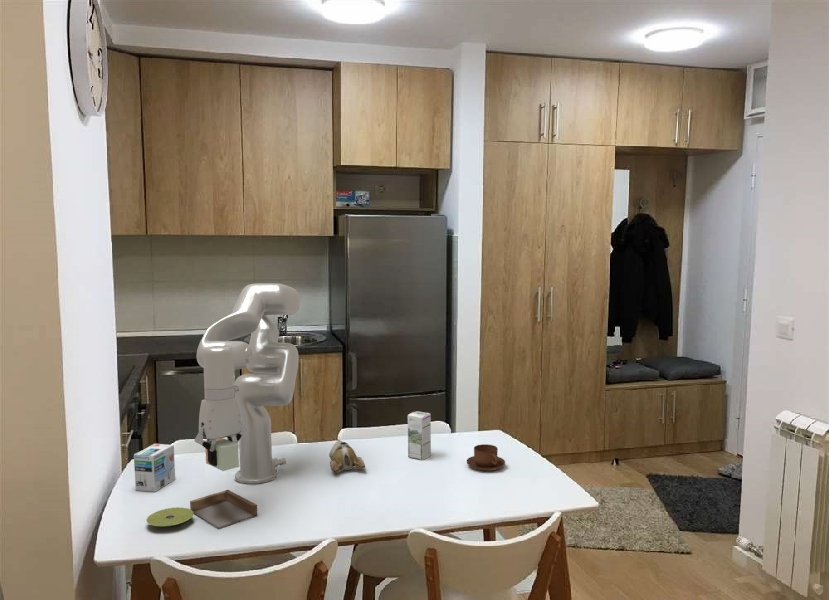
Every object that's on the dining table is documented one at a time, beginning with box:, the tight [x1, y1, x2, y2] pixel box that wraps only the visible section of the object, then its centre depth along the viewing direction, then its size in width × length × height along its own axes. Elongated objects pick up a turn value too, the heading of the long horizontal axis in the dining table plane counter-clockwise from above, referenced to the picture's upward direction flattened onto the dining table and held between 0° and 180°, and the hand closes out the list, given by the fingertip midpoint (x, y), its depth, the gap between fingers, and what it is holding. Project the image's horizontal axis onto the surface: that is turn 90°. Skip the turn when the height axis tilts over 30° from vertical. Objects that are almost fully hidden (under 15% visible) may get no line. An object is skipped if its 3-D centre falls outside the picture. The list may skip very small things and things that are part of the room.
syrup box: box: [407, 411, 432, 461], centre depth 215 cm, size 6×6×14 cm
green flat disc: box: [146, 506, 195, 527], centre depth 166 cm, size 11×11×2 cm
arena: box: [189, 489, 258, 530], centre depth 172 cm, size 11×15×3 cm
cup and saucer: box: [466, 444, 506, 472], centre depth 205 cm, size 12×12×6 cm
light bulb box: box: [133, 443, 176, 493], centre depth 192 cm, size 11×7×11 cm, turn 168°
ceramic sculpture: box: [328, 439, 366, 474], centre depth 205 cm, size 11×9×15 cm
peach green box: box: [205, 437, 240, 472], centre depth 171 cm, size 9×4×6 cm, turn 45°
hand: (222, 461), depth 171 cm, fingers closed on peach green box, 4 cm apart
